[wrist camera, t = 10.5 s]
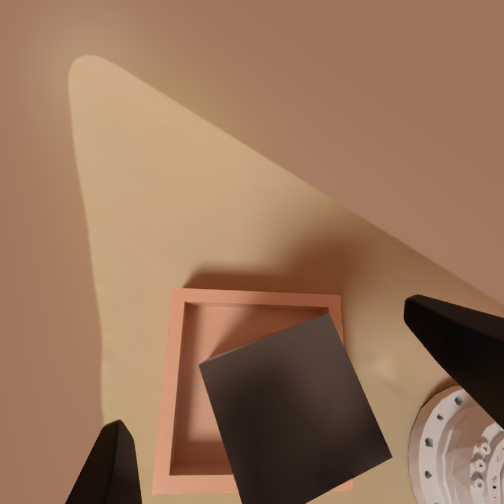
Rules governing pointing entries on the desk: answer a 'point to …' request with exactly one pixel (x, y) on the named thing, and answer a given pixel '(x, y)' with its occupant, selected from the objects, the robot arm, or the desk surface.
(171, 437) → the terracotta bin
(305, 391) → the graphite square block
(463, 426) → the mechanical component
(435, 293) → the desk surface
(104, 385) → the desk surface
